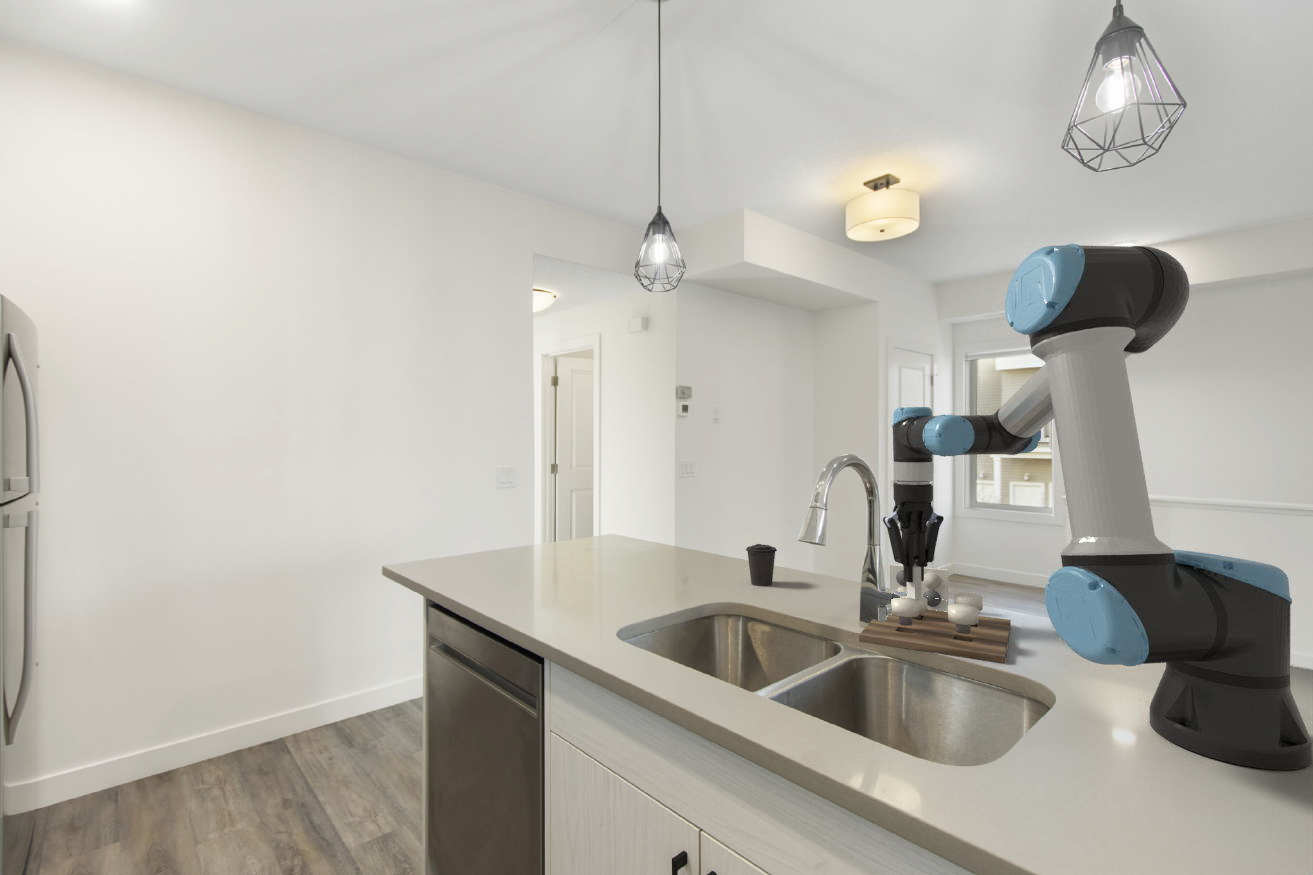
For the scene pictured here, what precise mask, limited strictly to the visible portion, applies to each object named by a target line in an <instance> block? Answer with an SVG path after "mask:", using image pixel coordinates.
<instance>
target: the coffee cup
mask: <svg viewBox="0 0 1313 875" xmlns="http://www.w3.org/2000/svg"><path fill="white" fill-rule="evenodd" d="M745 551H746V552H747V559H748V566H749V567H748V568H749V574H750V575H749V576H750V583H751V585H752V586H758V587H770V586H772V585H773V578H774V570H775V559H776V552H777V551H778V550H777V548H776V547H775V546H771V545H770V544H761V543H755V544H753V545H749V546H747V547H746V549H745Z"/></svg>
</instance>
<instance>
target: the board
mask: <svg viewBox="0 0 1313 875" xmlns="http://www.w3.org/2000/svg"><path fill="white" fill-rule="evenodd" d="M1011 625H1012V623H1011V619H1008V618H1000V617H991V616H985V615H984V616H983V615H978V624H975V625H970V631H971V633H969V634H962V633H958V632H956V623H953V622H950V621H949V620H948V612H944V611H936V610H928V612H927V613H923V614H921V620H918V619H912V625H910V626H905V625H900V624H899V616H897V615H894V614H892V615H888V617H887V620H886V621H885V622H879V621H877V620H876V619H873V618H872V620H871V621H870V622H869V623H868V624H867V625H866V626H865V627H864V628H863V629H862V631H860V633H859V635H858V637H859V642H864V643H870V644H876V645H883V646H888V647H889V646H890V647H895V648H903V649H909V650H916V651H922V652H928V653H935V654H941V655H947V656H954V657H961V658H967V659H973V660H978V661H979V660H980V661H985V662H992V663H999V664H1003V665H1005V664H1006V660H1007V653H1008V652H1007V651H1008V646H1009V639H1010V632H1011V627H1012V626H1011Z"/></svg>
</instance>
